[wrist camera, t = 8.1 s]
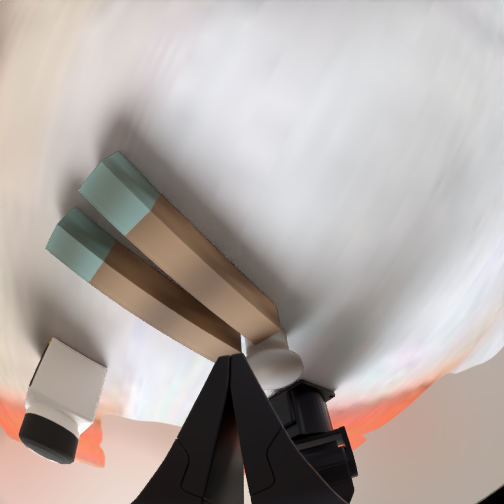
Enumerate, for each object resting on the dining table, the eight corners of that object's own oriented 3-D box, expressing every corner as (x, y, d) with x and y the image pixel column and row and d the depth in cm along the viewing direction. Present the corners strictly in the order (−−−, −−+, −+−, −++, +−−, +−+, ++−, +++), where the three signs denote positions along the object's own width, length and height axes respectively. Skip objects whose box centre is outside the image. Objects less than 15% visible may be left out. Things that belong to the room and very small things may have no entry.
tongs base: (305, 334, 26) (315, 369, 22) (260, 364, 27) (265, 397, 24) (96, 172, 17) (69, 193, 13) (62, 229, 18) (37, 257, 15)
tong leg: (276, 305, 23) (281, 330, 21) (252, 320, 24) (255, 345, 22) (118, 150, 16) (101, 161, 14) (96, 176, 17) (77, 191, 14)
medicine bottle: (52, 334, 24) (12, 430, 14) (108, 367, 27) (85, 466, 16) (42, 362, 26) (11, 443, 16) (91, 389, 29) (70, 472, 19)
